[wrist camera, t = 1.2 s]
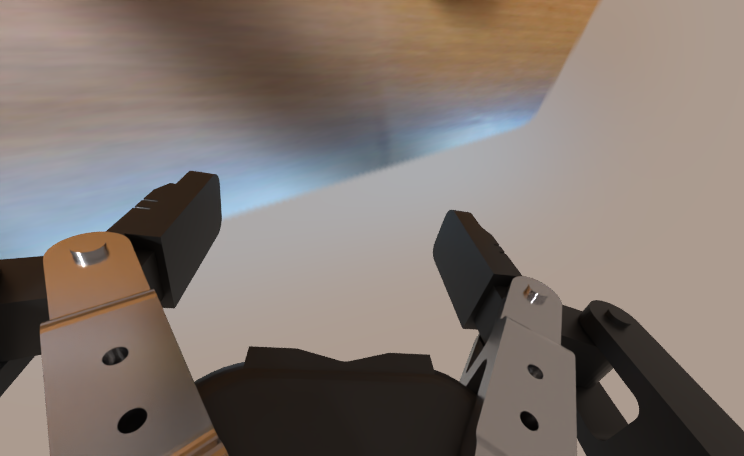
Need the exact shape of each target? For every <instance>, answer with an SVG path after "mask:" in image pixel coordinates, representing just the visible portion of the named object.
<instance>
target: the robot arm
mask: <svg viewBox="0 0 744 456" xmlns="http://www.w3.org/2000/svg"><path fill="white" fill-rule="evenodd" d="M221 221H222V214H221V198H220V183H219V178H218V176H217V175H216V174H210V173H203V172H196V171H189V172H188V173H187V174H186V175H185V176H184V177H183V178H182V179H181V180H180V181H178V182H177V183H176V184H173V183H169V184H167V185H164V186H162V187H159V188H157V189H154V190H153V191H152V192H151V193H150V194H148V195H147V196H146V197H145V198H144V200H141V201H140V202H139V203H138V204H137V205H136V206H135V208H132V209H131V210H130V211H129V212H128V213H127V214H125V215H124V216H123V217H122V218H121V219H120V220H118V221H117V222H116V223H115V224H114V225H113V226H112V227H110V228H109V229H108V230H107V231H106V232H91V233H85V234H80V235H76V236H73V237H70V238H67V239H64V240H62V241H60V242H58V243H57V244H55V245H53V246H52V247H51V248H49V249H48V250H47V252H46V253H45V254H44V256H39V257H27V258H15V259H3V260H0V397H1V395H2V394H3V393H4V392H5V391H6V389H7V388H8V387H9V386H10V385H11V384H12V382H13V381H14V380H15V379H16V378H17V377H18V375H19V374H20V373H21V372H22V371H23V369H24V368H25V367H26V366H27V365H28V364H29V362H30V361H31V360H32V359H33V358H34V356H36V355H42V365H43V377H44V389H45V401H46V413H47V425H48V436H49V448H50V456H577V439H578V441H579V443H580V445H581V446H582V448H583V450H584V452H585V454H586V456H744V431H743V430H742V429H741V428H740V427H739V426H738V425H737V424H736V423H735V422H734V421H733V420H732V419H731V418H730V417H729V416H728V415H727V414H726V413H725V411H723V409H722V408H721V407H720V406H719V405H718V404H717V403H716V402H715V401H714V400H713V399H712V398H711V397H710V396H709V395H708V394H707V393H706V392H705V391H704V390H703V389H702V388H701V387H700V386H699V385H698V384H697V383H696V382H695V381H694V379H693V378H691V376H690V375H689V374H688V373H686V371H685V370H684V369H683V368H682V367H681V366H680V365H679V364H678V363H677V362H676V361H675V360H674V359H673V358H672V357H671V356H670V355H669V354H668V353H667V352H666V351H665V349H663V347H662V346H661V345H660V344H659V343H658V342H657V341H656V340H655V339H654V338H653V337H652V336H651V335H650V334H649V333H648V332H647V331H646V330H645V329H644V328H643V327H642V326H641V325H640V324H639V323H638V322H637V321H636V320H635V319H634V318H633V317H632V316H630V315H629V314H628V313H626V312H625V311H623V310H622V309H620V308H618V307H616V306H614V305H612V304H610V303H607V302H603V301H598V300H595V301H591V302H590V304H589V305H588V306H587V307H586V308H585V310H584V311H580V310H576V309H574V308H571V307H567V306H564V305H562V302H561V300H560V298H559V297H558V295H557V294H556V293H555V292H554V291H553V290H551V288H549V287H548V286H546V285H545V284H543V283H542V282H539V281H538V280H535V279H533V278H529V277H525V276H522V275H521V273H520V272H519V271H518V269H517V268H516V267H515V266H514V264H513V263H512V262H511V260H510V259H509V258H508V256H507V255H506V254H504V251H503V249H502V248H501V247H500V246H499V244H498V243H497V241H496V240H495V239H494V237H493V236H492V235H491V234H490V233H488V232H487V231H486V230H485V229H483V228H482V227H481V226H480V225H479V224H478V222H477V221H476V219H475V218H474V217H473V215H472V214H471V213H469V212H462V211H456V210H449V211H448V212H447V214H446V216H445V218H444V221H443V224H442V226H441V228H440V231H439V234H438V236H437V238H436V241H435V244H434V248H433V257H434V261H435V263H436V266H437V268H438V270H439V273H440V275H441V277H442V280H443V282H444V285H445V287H446V290H447V292H448V294H449V297H450V299H451V301H452V304H453V306H454V309H455V311H456V314H457V316H458V318H459V321H460V323H461V326H462V328H463V329H477V330H478V331H479V335H478V336H477V338H476V340H475V342H474V344H473V347H472V350H471V353H470V355H469V358H468V360H467V363H466V366H465V368H464V371H463V373H462V376H461V379H460V381H457V380H455V379H454V378H451V377H450V376H448V375H446V374H444V373H441V372H439V371H436V370H434V369H433V365H432V361H431V358H430V355H422V354H401V353H386V354H382V355H377V356H372V357H368V358H363V359H359V360H353V361H348V362H343V361H338V360H335V359H331V358H328V357H325V356H321V355H318V354H314V353H310V352H307V351H304V350H300V349H293V348H271V347H249V349H248V352H247V356H246V360H245V362H242V363H237V364H233V365H231V366H227V367H223V368H221V369H219V370H216V371H214V372H211V373H210V374H208V375H206V376H204V377H202V378H200V379H198V380H196V381H195V382H194V381H193V378H192V376H191V374H190V371H189V369H188V367H187V364H186V362H185V360H184V357H183V355H182V353H181V350H180V348H179V346H178V343H177V341H176V339H175V336H174V334H173V332H172V329H171V327H170V325H169V322H168V320H167V318H166V315H165V313H164V311H163V308H175V307H176V305H177V304H178V302H179V300H180V299H181V297H182V295H183V293H184V292H185V290H186V288H187V286H188V285H189V283H190V281H191V280H192V278H193V276H194V275H195V273H196V271H197V270H198V268H199V266H200V264H201V263H202V261H203V259H204V258H205V256H206V254H207V253H208V251H209V249H210V247H211V246H212V244H213V242H214V241H215V239H216V237H217V235H218V234H219V231H220V227H221ZM613 368H614V369H615V371H616V372H617V373H618V375H619V376H620V377H621V379H622V380H623V381H624V383H625V384H626V385H627V387H628V388H629V389H630V390H631V392H632V393H633V394H634V396H635V397H636V399H637V402H638V405H639V415H638V417H637V418H636V419H635V420H634V421H633V422H631V423H630V424H629V425H628V423H627V422H626V420H625V419H624V417H623V416H622V415H621V413H620V412H619V410H618V409H617V407H616V406H615V404H614V403H613V402H612V400H611V398H610V397H609V396H608V394H607V393H606V391H605V390H604V388H603V387H602V385H601V384H600V383H599V381H600V380H601V379H602V378H603V377H604V376H605V375H606V374H607V373H608V372H610V371H611V370H612V369H613Z"/></svg>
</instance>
